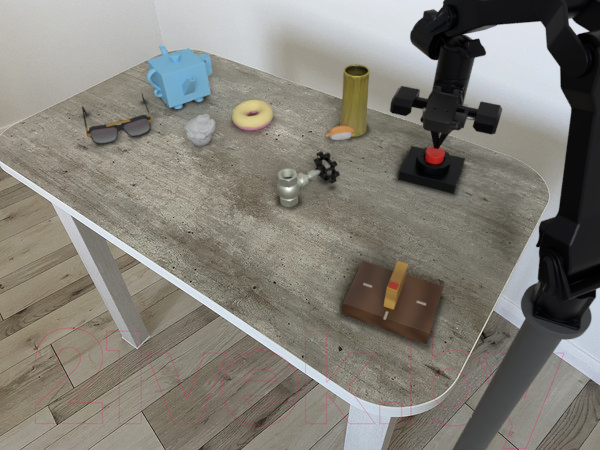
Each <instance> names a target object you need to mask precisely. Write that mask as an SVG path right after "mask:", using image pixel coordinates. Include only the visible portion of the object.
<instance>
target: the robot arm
mask: <svg viewBox="0 0 600 450" xmlns="http://www.w3.org/2000/svg"><path fill="white" fill-rule="evenodd" d="M571 19H572V21H573V22H574V23H575V24H577V25H578V26H580V27H582V28H583V29H585V30H586V31H585V32H581V33H578V34H577V33H576V32H575V31H574V29H573V28H572V27H571V26H570V21H569V20H571ZM539 22H540V23H541V24H542V25H543V27H544V29H545V41H546V42H545V43H546V50H547V51H548V53H549V54H550V55H551V57H552V58H553V60H554V61H555V62H556V64H557V65H558V66H559V81H560V83H559V85H560V86H559V87H560V90H561V92H562V94H563V96H564V97H565V99H566V101H567V103H568V104H569V107H570V116H569V117H570V118H569V124H568V133H567V140H566V148H565V149H566V150H565V156H564V163H563V165H564V166H563V173H562V180H561V189H560V196H559V205H558V211H557V213H556V215H554V216H553V217H550V218H547V219H544V220H541V221H540V223H539V225H538V239H537V243H536V244H535V248H538V269H537V282H536V283H537V284H536V283H535V284H536V286H535V288H534V290H533V295H532V302H531V303H532V304H534V305H533V313H532V315H533V316H534V317H535V318H538V319H541V320H544V321H547V322H551V323H554V324H557V325H560V326H563V327H566V328H570V329H573V330H576V331H578V330H579V329H580V328H581V318H582V317H583V315H584V314H585V312H586V311H587V309H588V308H590V307H591V305H592V304H593V303H594V301H595V300H596V298H597V290H598V289H600V0H443V1H442V6H441V7H440V9H439V10H436V9H435V8H432V9H428V10H424V11H423V15H422V17H421V18H420V19H419V20H417V22H416V23H415V24H414V25H413V27H412V29H411V30H410V34H409V40H410V42H411V44H412V45H413V46H414V47H415V48H416V49H418V51H420V52H421V53H422V54H424V55H425V56H426V57H427V58H428V59H431V60H432V61H437V63H436V69H435V73H434V79H433V84H432V90H431V92H430V93H429V95H428V97H420V93H421V90H420V89H419V88H414V87H410V86H404V85H401V86H399V87H398V88H397V90H396V92H395V94H394V95H393V97H392V98H391V102H390V107H389V112H390V113H391V114H394V115H399V116H402V117H407V116H409V115H410V114H411V113H412V109H413V108H414V109H419V110H422V114H421V116H420V119H419V120H420V123H421V124H422V129H423V130H424V131H427V132H430V135H431V141H432V146H434V148H435V149H439V147H440V148H441V146H442V144H443V143H444V142H445V140H446V139H447V137H448V136H449V135H450V134H451V133H452V132H453V131H460V130H461V129H464V128H465V125H466V122H467V120H470V121H473V124H472V128H473V129H474V130H475V132H478V133H482V134H486V135H491V136H492V135H496V133H497V129H498V126H499V123H500V119H501V117H502V113H503V107H502V106H501V104H496V103H491V102H487V101H480V102H479V105H478V108H476V107H470V106H469V104H466V103H465V99H466V95H467V92H468V88H469V83H470V79H471V75H472V71H473V67H474V63H475V60H476V58H481V57H484V56H485V57H486V54H487V50H486V48H485V46H484V45H483V44H482V42H481V39H480V38H474V39H473V38H472V37H470V36H469V35H467V34H472V33H476V32H477V33H478V32H482V31H486V30H489V29H491V28H495V27H497V26H500V25H502V26H503V25H514V24H526V23H539ZM536 314H537V315H536ZM575 326H576V327H575Z"/></svg>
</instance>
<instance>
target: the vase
mask: <svg viewBox="0 0 600 450" xmlns="http://www.w3.org/2000/svg"><path fill="white" fill-rule="evenodd" d="M342 76H343V77H342V97H341V108H340V121H339V126H340V125H345V126H348V127H351V128H352V129H353V130H354V133H352V136H351V137H352V138H357V137H360V136H362V135H364V134H365V133H366V132H367V129H368V127H367V118H368V116H367V115H368V101H369V99H368V98H369V83H370V68H369V67H368V66H366V65H364V64H360V63H359V64H358V63H354V64H349V65H346V66H345V67H344V69H343V74H342ZM351 137H350V138H351Z"/></svg>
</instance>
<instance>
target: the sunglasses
mask: <svg viewBox="0 0 600 450" xmlns="http://www.w3.org/2000/svg"><path fill="white" fill-rule="evenodd" d="M141 97H142V101H143V103H144V105H145V109H146V112H147V114H148V116H147V115H146V114H141V115H138V116H134V117H132V118H131V117H130V118H127V119H123V120H119V121H118V120H117V121H114V122H110V123H106V124H98V125H92V126H90V127H88V124H87V120H86V116H88V114H87V111H86V109H85V107H84V105H83V106H81V111H82V116H83V122H84V123H83V124H84V127H85V134H86V137H87V138H91V140H92V142H93V143H94V144H97V145H107V144H111V143H113V142H116V141H117V140H118V135H119V132H121V131H122V132H124V133H126V134H127V135H128V136H129V137H133V138H135V137H140V136H144V135H146V134H149V132H150V131H151V130H152V126H151V124H152V123H153V119H152V116H151V114H150V111H149V108H148V105H147V102H146V100H145V99H146V98H145V97H144V94H143V93H141Z"/></svg>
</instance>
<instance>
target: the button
mask: <svg viewBox="0 0 600 450" xmlns="http://www.w3.org/2000/svg"><path fill="white" fill-rule="evenodd" d="M426 148H427V150H426V154H425V160H426V161H427V162H428V163H431V164H440V163H442V162H443V160H444V156H445V151H446V150H445V149H444V148H442V147H441V146H440V147H439V149H435V148H434V146H433V145H432V146H429V147H426ZM444 150H445V151H444Z"/></svg>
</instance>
